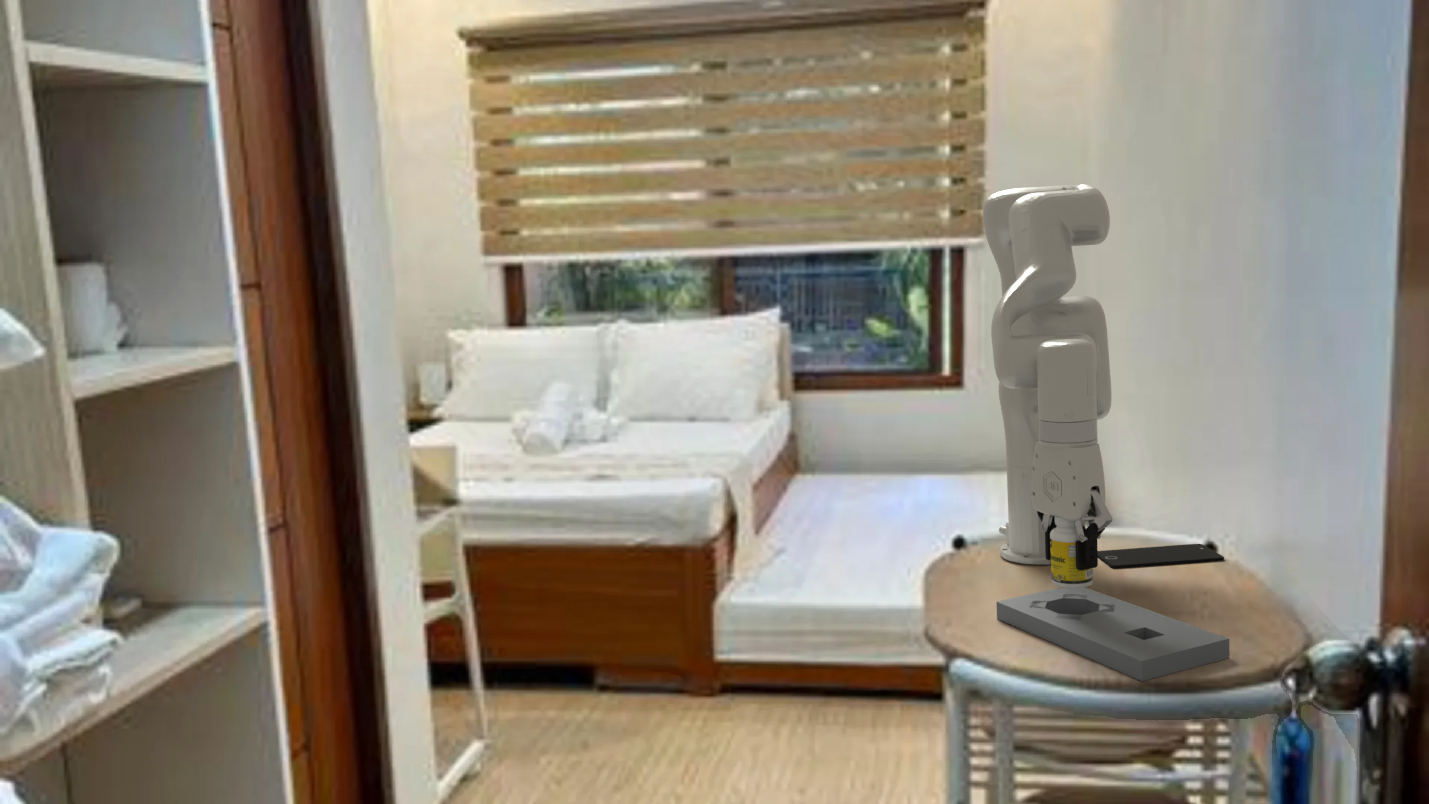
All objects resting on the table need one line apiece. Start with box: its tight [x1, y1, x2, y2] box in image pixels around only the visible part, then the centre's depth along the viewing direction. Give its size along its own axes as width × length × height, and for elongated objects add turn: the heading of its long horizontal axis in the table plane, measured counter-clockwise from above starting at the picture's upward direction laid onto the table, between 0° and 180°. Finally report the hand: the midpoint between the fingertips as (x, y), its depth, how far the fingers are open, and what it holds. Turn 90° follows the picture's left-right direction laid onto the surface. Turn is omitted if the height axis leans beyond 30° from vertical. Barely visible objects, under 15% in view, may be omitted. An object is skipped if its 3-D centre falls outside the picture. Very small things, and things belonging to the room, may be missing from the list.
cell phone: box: [1098, 543, 1225, 570], centre depth 193 cm, size 9×18×1 cm, turn 92°
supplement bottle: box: [1050, 516, 1094, 588], centre depth 163 cm, size 5×5×10 cm
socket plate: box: [996, 587, 1230, 682], centre depth 158 cm, size 28×14×2 cm, turn 24°
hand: (1071, 562), depth 163 cm, fingers closed on supplement bottle, 5 cm apart
